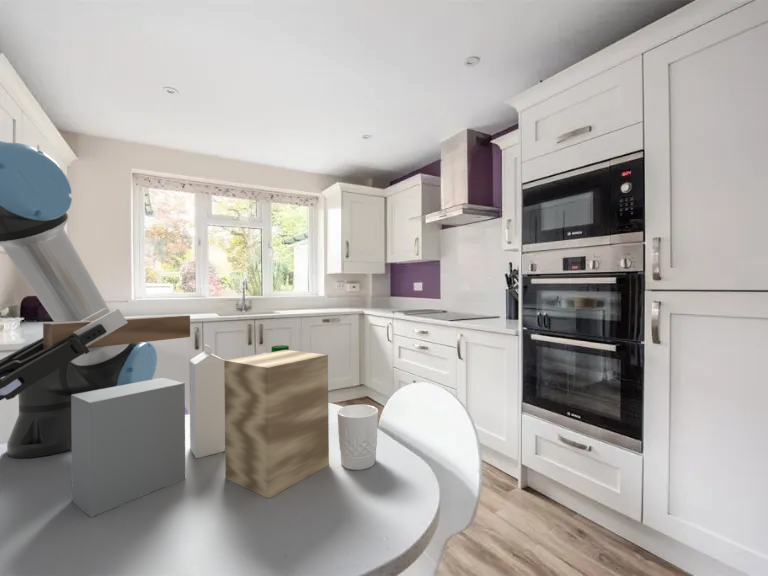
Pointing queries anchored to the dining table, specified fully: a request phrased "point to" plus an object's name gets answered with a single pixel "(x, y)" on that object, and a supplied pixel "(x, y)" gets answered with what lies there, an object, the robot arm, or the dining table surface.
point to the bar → (124, 330)
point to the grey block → (126, 442)
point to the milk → (207, 404)
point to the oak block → (275, 419)
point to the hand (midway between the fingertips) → (115, 315)
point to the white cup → (358, 436)
